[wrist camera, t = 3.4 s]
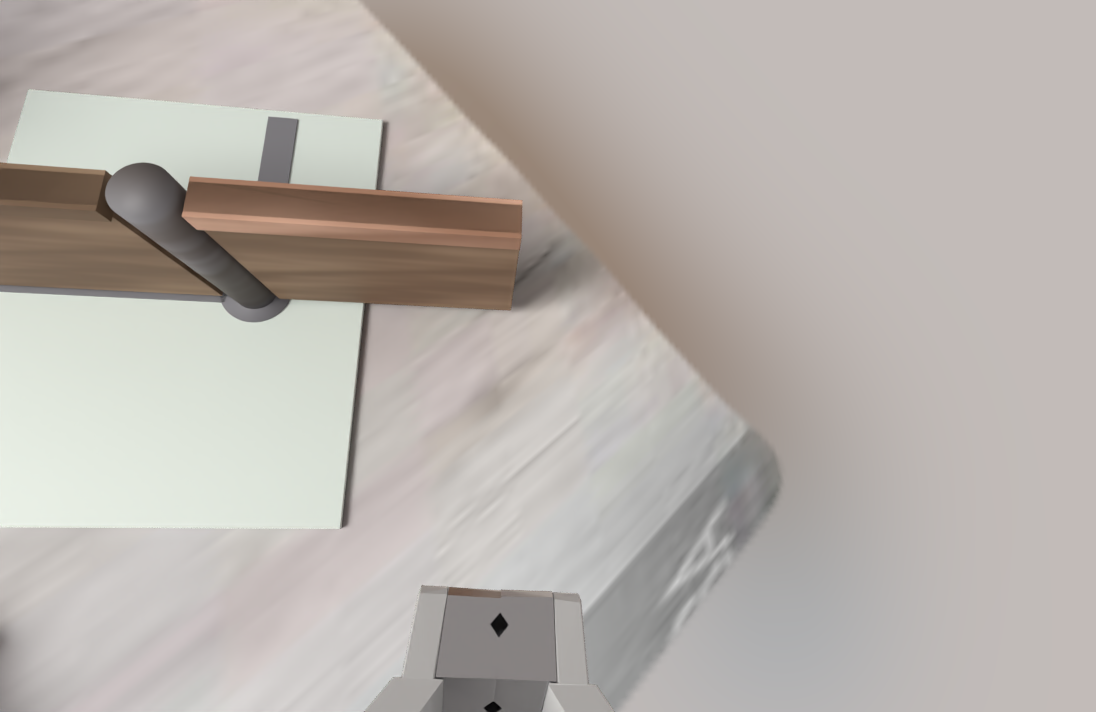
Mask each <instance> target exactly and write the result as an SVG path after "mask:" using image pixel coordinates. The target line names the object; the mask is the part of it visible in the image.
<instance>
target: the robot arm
mask: <svg viewBox="0 0 1096 712" xmlns="http://www.w3.org/2000/svg"><path fill="white" fill-rule="evenodd" d="M364 712H615V711H614V710H613V708H612V707H611V705H610V704H609V702H608V701H607V699H606V698H605V696H604V695H603V693H602V692H601V690H600V689H599V687H598V686H597V685H593V684H589V680H588V670H587V659H586V648H585V637H584V627H583V616H582V605H581V599H580V597H579V594H578V593H558V592H552V591H526V590H488V589H472V588H456V587H446V586H425V585H422V586H421V588H420V591H419V594H418V598H417V603H416V608H415V613H414V617H413V622H412V627H411V632H410V637H409V642H408V647H407V652H406V657H405V662H404V666H403V671H402V676H401V677H393V678H392V679H391V680H390V681H389V682H388V684H387V685H386V686H385V687H384V688H383V690H382V691H381V692H380V693H379V694H378V696H377V697H376V698H375V699H374V700H373V701H372V703H371V704H370V705H369V706H368V707H367V709H366V710H365V711H364Z"/></svg>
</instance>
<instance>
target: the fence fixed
mask: <svg viewBox="0 0 1096 712" xmlns="http://www.w3.org/2000/svg"><path fill="white" fill-rule="evenodd" d="M186 193H187V191H186V190H185V189H184V188H183V187H182V186H181V185H180V184H179V183H178V182H177V181H176V180H175V179H174V178H173V177H172V176H171V175H170V174H169V173H168V172H167V171H166V170H165V169H163V168H162V167H160V166H158V165H156V164H152V163H144V162H141V163H134V164H130V165H127V166H125V167H123V168H121V169H120V170H118V171H117V172H116V173H115V174H114V175H113V176H112V175H111V174H109V173H108V172H107V171H106V170H96V169H82V168H68V167H55V166H41V165H27V164H13V163H0V285H12V286H33V287H53V288H73V289H93V290H113V291H133V292H153V293H173V294H193V295H213V296H222V295H223V292H224V293H225V294H227V295H228V296H229V297H231V298H232V299H233V300H235V301H236V302H238V303H239V304H240V305H242V306H243V307H246V308H249V309H259V308H263V307H265V306H267V305H269V304H270V303H271V302H272V301H273V300H274V299H275V297H276V295H275V294H274V293H272V292H271V291H270V290H269V289H268V288H267V287H266V286H265V285H264V284H262V283H261V282H260V281H259V280H258V279H257V278H256V277H255V276H254V275H253V274H251V273H250V272H249V271H248V270H247V269H246V268H245V267H244V266H243V265H241V264H240V263H239V262H238V261H237V260H236V259H235V258H234V257H233V256H231V255H230V254H229V253H228V252H227V251H226V250H225V249H224V248H223V247H222V246H220V245H219V244H218V243H217V242H216V241H215V240H214V239H213V238H212V237H210V236H209V235H208V234H207V233H206V232H205V231H204V230H196V229H195V228H194V227H193V226H192V225H191V224H190V223H188V222H187V221H186V220H185V219H184V218H183V217H182V212H183V208H184V203H185V198H186Z"/></svg>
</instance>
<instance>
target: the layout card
mask: <svg viewBox="0 0 1096 712" xmlns="http://www.w3.org/2000/svg"><path fill="white" fill-rule="evenodd" d="M382 131H383V120H378V119H366V118H355V117H343V116H332V115H320V114H309V113H297V112H285V111H274V110H262V109H251V108H239V107H228V106H216V105H205V104H193V103H182V102H170V101H158V100H147V99H135V98H124V97H112V96H101V95H89V94H78V93H66V92H54V91H43V90H31V89H28V92H27V96H26V99H25V102H24V106H23V109H22V112H21V116H20V119H19V122H18V126H17V129H16V133H15V136H14V139H13V143H12V146H11V149H10V153H9V156H8V159H7V163H13V164H27V165H41V166H55V167H68V168H82V169H96V170H106V171H107V172H108V173H109V174H111V175H112V176H113V175H114V174H115V173H116V172H117V171H118V170H120V169H121V168H123V167H125V166H127V165H130V164H134V163H141V162H144V163H152V164H156V165H158V166H160V167H162V168H163V169H165V170H166V171H167V172H168V173H169V174H170V175H171V176H172V177H173V178H174V179H175V180H176V181H177V182H178V183H179V184H180V185H181V186H182V187H183V188H184V189H185V190H186V191H187V188H188V183H189V178H190V176H192V177H206V178H220V179H234V180H248V181H261V182H275V183H289V184H303V185H317V186H330V187H344V188H358V189H372V190H376V189H377V179H378V170H379V160H380V150H381V141H382ZM364 305H365V303H354V302H334V301H314V300H294V299H279V298H278V297H277V296H276V297H275V299H274V300H273V301H272V302H271V303H270V304H269V305H267V306H265V307H263V308H259V309H249V308H246V307H243V306H242V305H240V304H239V303H238V302H236V301H235V300H233V299H232V298H231V297H229V296H228V295H227V294H225V293H224V292H223V295H222V296H213V295H193V294H173V293H153V292H133V291H113V290H93V289H73V288H53V287H33V286H12V285H0V527H66V528H275V529H341V528H342V518H343V508H344V499H345V489H346V479H347V470H348V460H349V450H350V441H351V431H352V421H353V412H354V402H355V392H356V383H357V373H358V363H359V354H360V344H361V334H362V325H363V315H364Z"/></svg>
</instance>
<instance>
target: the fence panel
mask: <svg viewBox="0 0 1096 712" xmlns="http://www.w3.org/2000/svg"><path fill="white" fill-rule="evenodd" d="M182 217H183V218H184V219H185V220H186V221H187V222H188V223H190V224H191V225H192V226H193V227H194V228H195V229H196V230H204V231H205V232H206V233H207V234H208V235H209V236H210V237H212V238H213V239H214V240H215V241H216V242H217V243H218V244H219V245H220V246H222V247H223V248H224V249H225V250H226V251H227V252H228V253H229V254H230V255H231V256H233V257H234V258H235V259H236V260H237V261H238V262H239V263H240V264H241V265H243V266H244V267H245V268H246V269H247V270H248V271H249V272H250V273H251V274H253V275H254V276H255V277H256V278H257V279H258V280H259V281H260V282H261V283H262V284H264V285H265V286H266V287H267V288H268V289H269V290H270V291H271V292H272V293H274V294H275V295H276V296H277V297H278V298H279V299H294V300H314V301H334V302H354V303H374V304H394V305H414V306H434V307H454V308H474V309H495V310H511V304H512V297H513V290H514V283H515V276H516V269H517V262H518V254H519V250H520V244H521V231H522V200H510V199H496V198H482V197H468V196H455V195H441V194H427V193H413V192H399V191H386V190H372V189H358V188H344V187H330V186H317V185H303V184H289V183H275V182H261V181H248V180H234V179H220V178H206V177H192V176H190V178H189V183H188V188H187V193H186V198H185V203H184V208H183V212H182Z"/></svg>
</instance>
